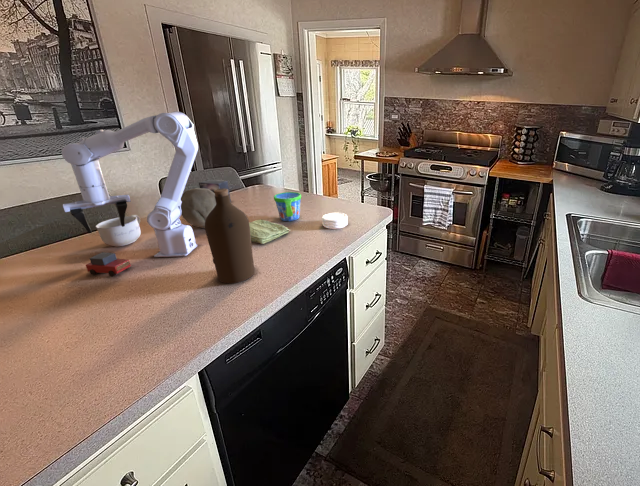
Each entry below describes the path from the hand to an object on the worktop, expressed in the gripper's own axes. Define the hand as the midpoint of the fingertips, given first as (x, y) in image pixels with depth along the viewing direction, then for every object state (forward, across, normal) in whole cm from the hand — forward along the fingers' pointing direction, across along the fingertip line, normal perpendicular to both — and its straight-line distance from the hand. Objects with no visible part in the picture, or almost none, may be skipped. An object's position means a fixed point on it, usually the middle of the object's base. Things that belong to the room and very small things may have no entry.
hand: (106, 228), depth 98 cm
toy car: (+9, -2, -11) cm, 14 cm away
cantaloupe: (+10, +28, +9) cm, 31 cm away
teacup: (+10, +4, +12) cm, 16 cm away
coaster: (+10, +66, -23) cm, 70 cm away
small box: (+10, +40, +37) cm, 56 cm away
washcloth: (+10, +40, -13) cm, 43 cm away
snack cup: (+10, +56, -5) cm, 57 cm away
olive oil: (+10, +23, -37) cm, 44 cm away
